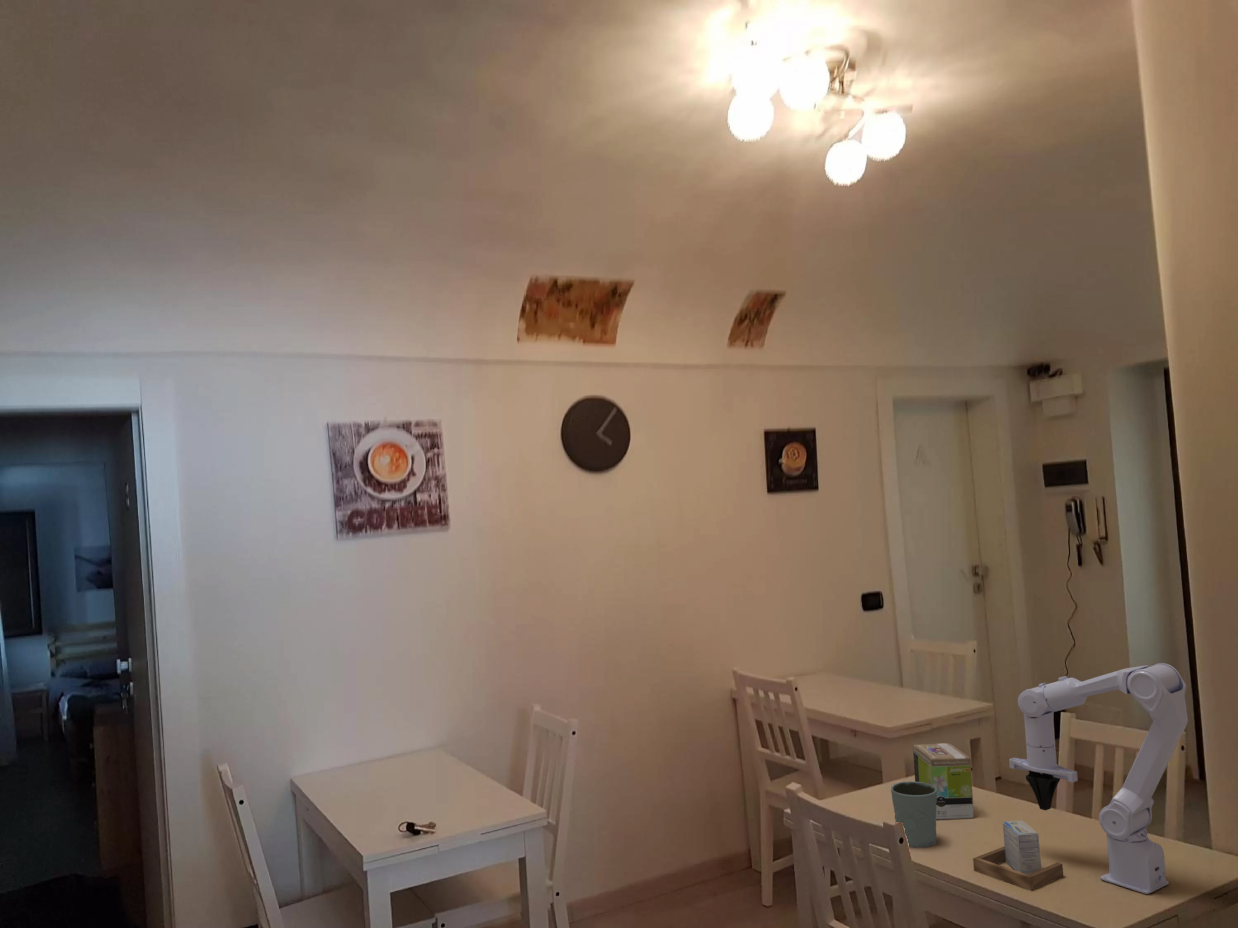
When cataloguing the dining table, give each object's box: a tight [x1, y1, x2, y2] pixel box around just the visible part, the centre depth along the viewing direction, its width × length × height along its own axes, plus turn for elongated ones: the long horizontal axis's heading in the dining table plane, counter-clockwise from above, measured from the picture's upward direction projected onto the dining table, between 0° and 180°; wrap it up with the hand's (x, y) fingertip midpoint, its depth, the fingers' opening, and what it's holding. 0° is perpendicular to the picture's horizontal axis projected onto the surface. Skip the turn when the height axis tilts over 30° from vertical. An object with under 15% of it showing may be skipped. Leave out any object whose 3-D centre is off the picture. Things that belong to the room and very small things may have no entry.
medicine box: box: [1002, 820, 1043, 875], centre depth 192 cm, size 8×4×9 cm, turn 179°
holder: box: [972, 845, 1064, 891], centre depth 190 cm, size 13×11×2 cm
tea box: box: [912, 742, 975, 820], centre depth 231 cm, size 15×10×15 cm, turn 179°
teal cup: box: [890, 780, 937, 849], centre depth 211 cm, size 10×10×12 cm
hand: (1045, 808), depth 197 cm, fingers closed
